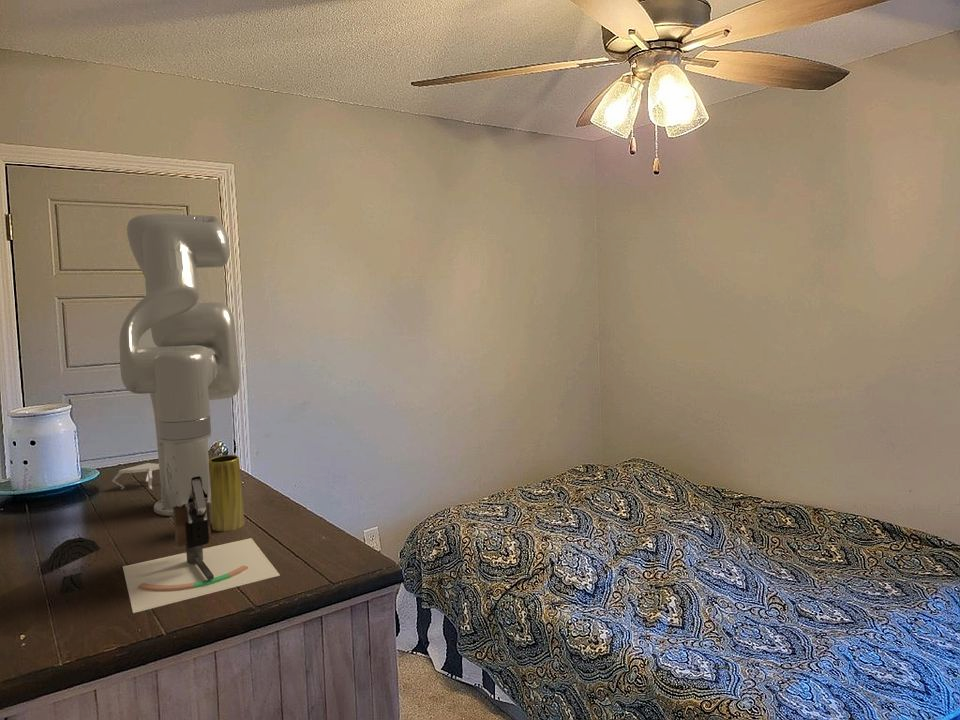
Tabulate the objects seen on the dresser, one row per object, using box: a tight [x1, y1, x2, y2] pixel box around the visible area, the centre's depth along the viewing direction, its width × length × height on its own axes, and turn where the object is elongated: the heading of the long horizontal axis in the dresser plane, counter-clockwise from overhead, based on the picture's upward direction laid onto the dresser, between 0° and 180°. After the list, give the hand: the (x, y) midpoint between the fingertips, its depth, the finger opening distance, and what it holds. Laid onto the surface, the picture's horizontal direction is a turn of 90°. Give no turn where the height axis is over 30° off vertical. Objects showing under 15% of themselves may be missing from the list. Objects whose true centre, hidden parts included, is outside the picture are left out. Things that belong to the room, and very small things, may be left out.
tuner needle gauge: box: [173, 501, 214, 580], centre depth 101 cm, size 11×5×9 cm, turn 36°
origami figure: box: [111, 462, 159, 490], centre depth 151 cm, size 12×8×5 cm
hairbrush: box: [45, 533, 101, 596], centre depth 103 cm, size 8×4×25 cm
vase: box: [209, 454, 245, 532], centre depth 120 cm, size 6×6×14 cm
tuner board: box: [122, 537, 281, 614], centre depth 102 cm, size 18×20×2 cm
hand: (193, 538), depth 105 cm, fingers open, 4 cm apart
